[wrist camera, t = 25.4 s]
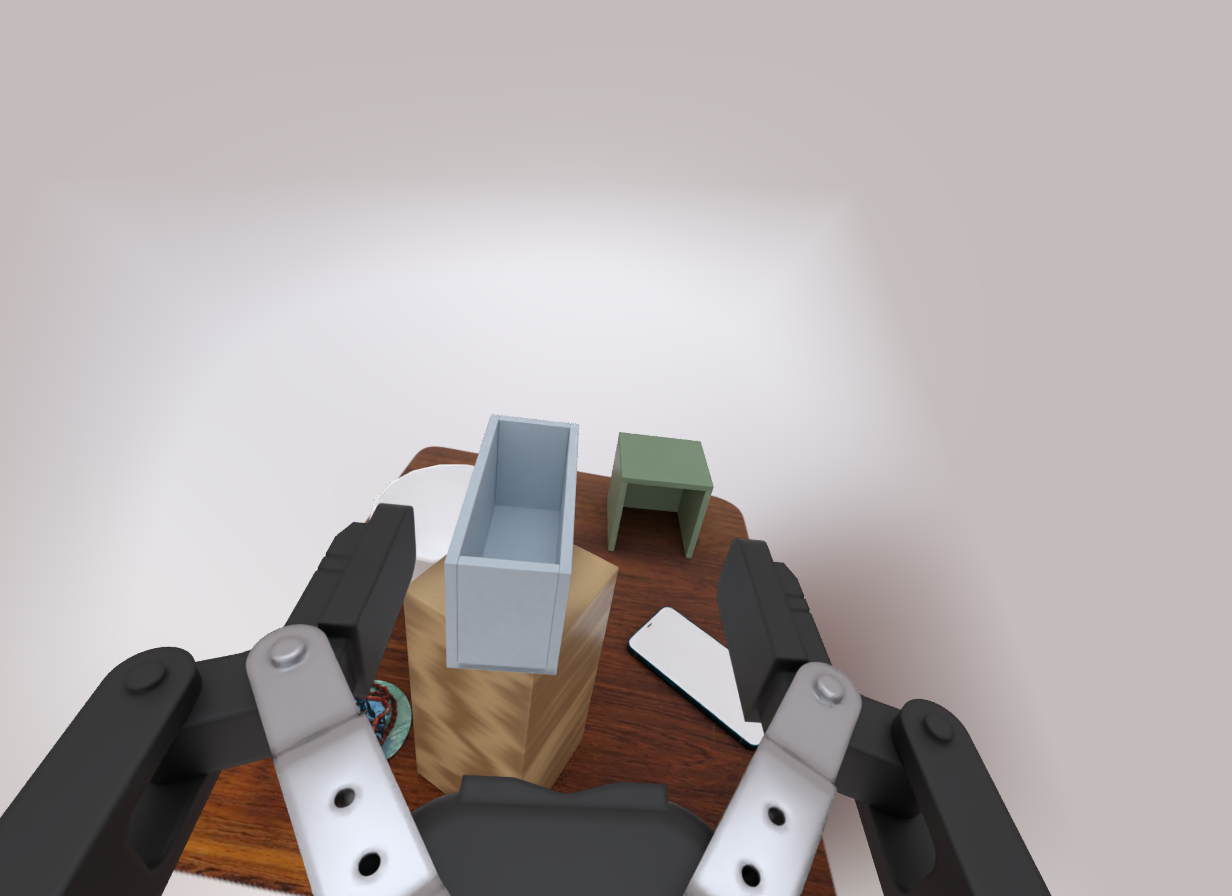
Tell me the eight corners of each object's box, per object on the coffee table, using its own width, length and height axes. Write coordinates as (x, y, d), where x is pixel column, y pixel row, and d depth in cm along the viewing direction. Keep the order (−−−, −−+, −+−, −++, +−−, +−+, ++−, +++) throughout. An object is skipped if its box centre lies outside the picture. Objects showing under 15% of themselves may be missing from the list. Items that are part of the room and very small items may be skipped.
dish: (278, 700, 47) (353, 665, 46) (340, 688, 54) (406, 657, 53) (295, 803, 44) (374, 767, 43) (358, 777, 51) (428, 746, 50)
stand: (582, 740, 51) (619, 567, 39) (513, 846, 43) (533, 671, 31) (494, 683, 54) (504, 507, 42) (416, 772, 46) (401, 588, 35)
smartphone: (789, 700, 58) (665, 608, 65) (792, 695, 57) (666, 603, 64) (753, 756, 52) (622, 648, 59) (756, 751, 51) (623, 643, 59)
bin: (556, 675, 31) (571, 573, 27) (446, 668, 31) (443, 563, 26) (567, 512, 43) (579, 424, 39) (487, 505, 42) (490, 413, 38)
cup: (526, 580, 66) (536, 471, 57) (508, 687, 54) (517, 570, 46) (406, 569, 64) (398, 455, 56) (362, 675, 53) (343, 552, 44)
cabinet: (691, 558, 73) (713, 486, 67) (607, 550, 72) (622, 477, 65) (681, 509, 81) (700, 441, 75) (606, 501, 80) (619, 432, 74)
